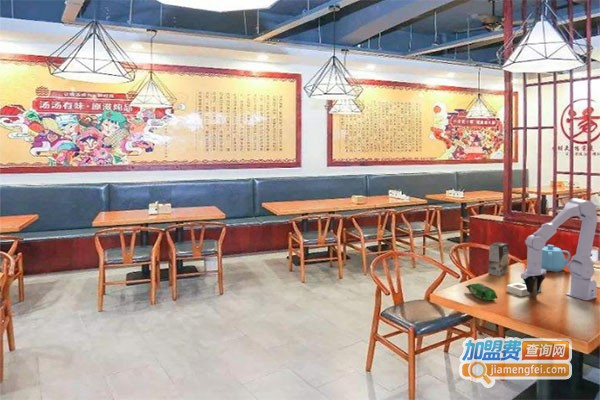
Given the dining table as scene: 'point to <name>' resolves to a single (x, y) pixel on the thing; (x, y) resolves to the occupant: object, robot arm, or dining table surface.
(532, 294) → the walnut dowel
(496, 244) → the coffee box
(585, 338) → the dining table surface
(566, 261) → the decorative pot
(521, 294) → the hole block
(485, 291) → the snack package
